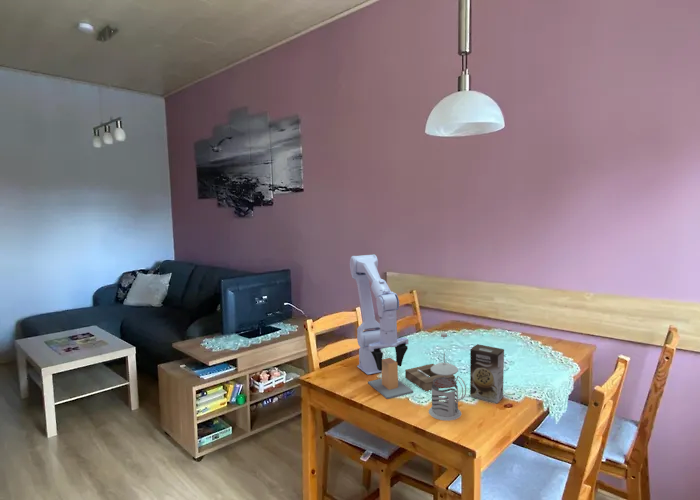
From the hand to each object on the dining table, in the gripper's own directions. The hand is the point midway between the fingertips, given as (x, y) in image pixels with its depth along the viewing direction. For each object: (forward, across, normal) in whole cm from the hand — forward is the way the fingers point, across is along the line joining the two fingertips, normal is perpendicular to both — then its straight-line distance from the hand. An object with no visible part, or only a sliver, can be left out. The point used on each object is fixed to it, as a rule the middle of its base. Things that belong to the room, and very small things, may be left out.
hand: (389, 367), depth 151 cm
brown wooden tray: (+7, +15, -2) cm, 17 cm away
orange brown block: (+7, 0, 0) cm, 7 cm away
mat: (+7, 0, 0) cm, 7 cm away
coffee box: (+8, +24, -21) cm, 33 cm away
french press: (+8, +6, -24) cm, 26 cm away
